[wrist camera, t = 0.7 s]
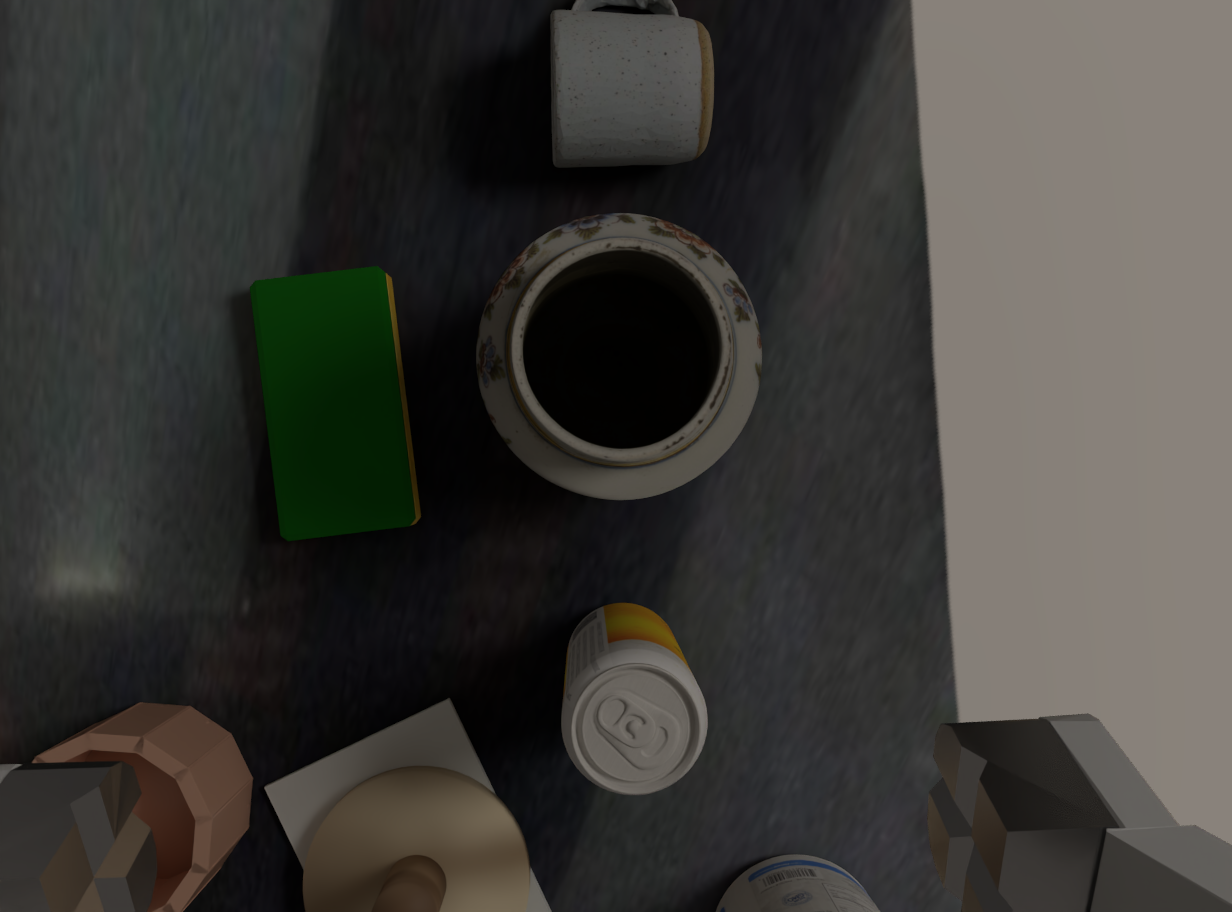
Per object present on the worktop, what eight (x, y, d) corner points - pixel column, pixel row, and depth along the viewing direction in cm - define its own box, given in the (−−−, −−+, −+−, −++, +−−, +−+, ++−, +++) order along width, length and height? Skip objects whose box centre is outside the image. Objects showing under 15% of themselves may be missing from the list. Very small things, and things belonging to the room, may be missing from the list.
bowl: (282, 838, 56) (246, 885, 50) (113, 919, 55) (55, 976, 49) (202, 672, 55) (156, 699, 49) (32, 752, 55) (-35, 789, 49)
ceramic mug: (702, 180, 56) (721, 134, 48) (553, 185, 56) (549, 140, 48) (693, -11, 56) (710, -87, 49) (545, -6, 56) (539, -82, 48)
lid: (566, 926, 56) (564, 974, 50) (367, 1022, 55) (344, 1082, 50) (472, 728, 55) (461, 756, 50) (271, 824, 55) (239, 863, 50)
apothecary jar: (459, 411, 56) (401, 391, 38) (579, 227, 56) (577, 120, 38) (644, 530, 56) (673, 567, 38) (762, 347, 56) (847, 298, 38)
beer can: (633, 732, 56) (651, 834, 41) (544, 667, 56) (530, 745, 41) (698, 643, 56) (740, 713, 41) (610, 578, 56) (620, 624, 41)
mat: (574, 959, 56) (574, 963, 56) (392, 1047, 56) (391, 1052, 55) (449, 697, 56) (448, 699, 55) (266, 784, 55) (264, 787, 55)
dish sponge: (293, 538, 56) (280, 542, 54) (263, 288, 56) (248, 280, 53) (423, 522, 56) (415, 525, 54) (392, 273, 56) (383, 264, 54)
